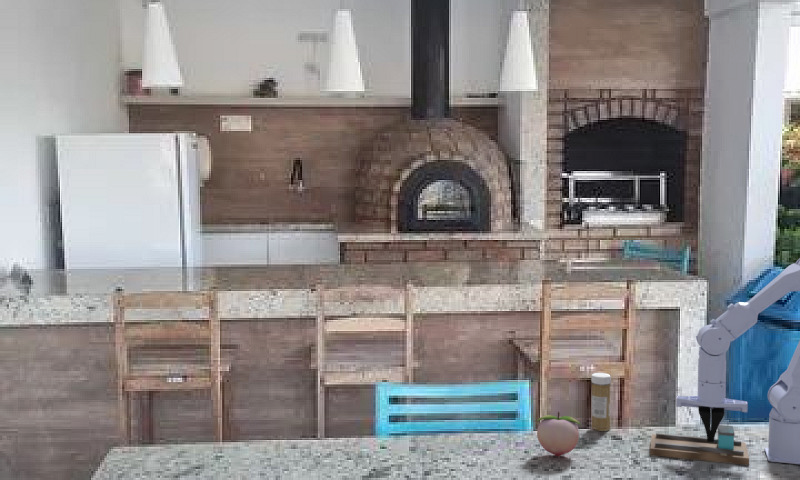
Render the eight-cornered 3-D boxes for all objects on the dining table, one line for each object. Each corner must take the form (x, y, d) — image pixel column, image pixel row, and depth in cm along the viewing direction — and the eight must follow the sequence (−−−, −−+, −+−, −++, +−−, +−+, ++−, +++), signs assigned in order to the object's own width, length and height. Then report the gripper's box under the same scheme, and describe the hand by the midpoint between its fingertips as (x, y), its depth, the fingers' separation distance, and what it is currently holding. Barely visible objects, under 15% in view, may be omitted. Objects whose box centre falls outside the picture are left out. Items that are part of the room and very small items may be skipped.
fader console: (745, 449, 177) (745, 439, 177) (749, 465, 168) (749, 454, 168) (651, 440, 184) (651, 430, 184) (650, 455, 174) (650, 444, 174)
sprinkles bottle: (613, 428, 192) (614, 374, 191) (603, 433, 189) (604, 378, 188) (597, 424, 196) (598, 371, 195) (587, 428, 193) (587, 374, 191)
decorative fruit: (539, 463, 170) (540, 418, 169) (534, 450, 178) (534, 406, 178) (583, 463, 170) (584, 418, 169) (576, 450, 178) (576, 406, 177)
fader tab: (732, 443, 176) (732, 426, 175) (734, 451, 171) (734, 433, 170) (717, 442, 177) (717, 424, 176) (718, 450, 172) (718, 432, 172)
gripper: (746, 378, 175) (744, 437, 176) (676, 373, 180) (675, 431, 181) (748, 386, 168) (747, 448, 169) (676, 381, 173) (675, 441, 174)
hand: (710, 440), depth 175 cm, fingers closed
